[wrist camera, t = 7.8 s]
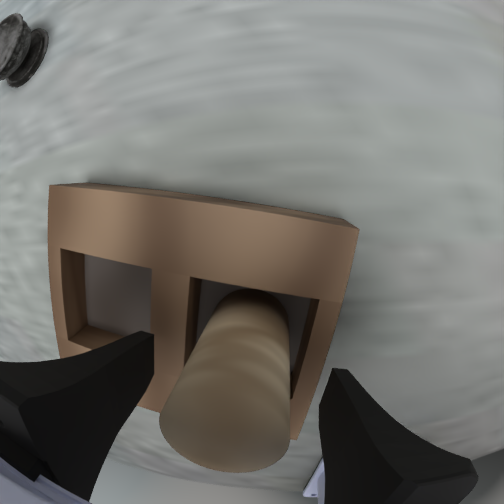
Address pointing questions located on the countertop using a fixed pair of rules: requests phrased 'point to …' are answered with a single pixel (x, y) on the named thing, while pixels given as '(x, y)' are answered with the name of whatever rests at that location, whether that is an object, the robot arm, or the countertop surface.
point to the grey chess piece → (20, 50)
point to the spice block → (191, 275)
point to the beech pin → (234, 388)
